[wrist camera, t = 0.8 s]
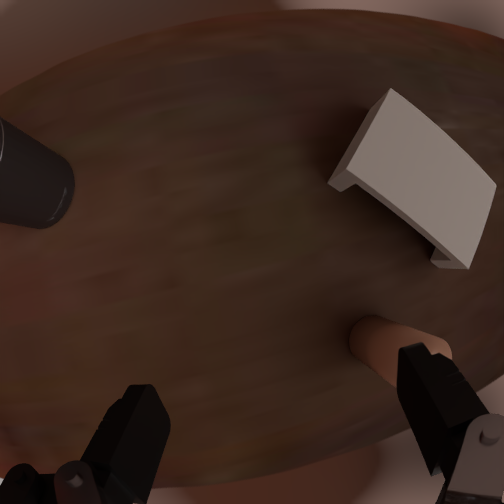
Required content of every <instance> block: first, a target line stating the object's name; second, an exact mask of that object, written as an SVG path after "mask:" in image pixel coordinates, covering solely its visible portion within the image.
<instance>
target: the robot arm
mask: <svg viewBox="0 0 504 504" xmlns="http://www.w3.org/2000/svg"><path fill="white" fill-rule="evenodd" d="M73 193H74V175H73V171H72V169H71V167H70V164H69V163H68V162H67V161H66V160H65V159H64V158H63V157H61V156H60V155H58V154H57V153H55V152H53V151H52V150H50V149H49V148H48V147H46V146H44V145H43V144H41V143H40V142H38V141H37V140H35V139H34V138H32V137H31V136H29V135H27V134H26V133H24V132H23V131H21V130H20V129H18V128H17V127H15V126H14V125H12V124H11V123H9V122H7V121H6V120H4V119H3V118H1V117H0V222H1V223H7V224H13V225H18V226H25V227H31V228H37V229H42V228H47V227H49V226H52V225H53V224H55V223H56V222H58V221H59V220H60V219H61V218H62V216H63V215H64V214H65V212H66V211H67V209H68V207H69V205H70V203H71V200H72V197H73ZM396 385H397V394H398V398H399V401H400V403H401V406H402V408H403V410H404V412H405V415H406V417H407V419H408V422H409V424H410V426H411V429H412V431H413V433H414V435H415V437H416V440H417V443H418V445H419V448H420V450H421V453H422V455H423V458H424V460H425V462H426V465H427V468H428V470H429V473H430V475H431V476H434V475H436V474H439V473H441V472H442V473H443V475H444V478H445V482H444V484H443V487H442V490H441V492H440V494H439V496H438V499H437V501H436V503H435V504H504V503H502V495H503V491H504V416H502V415H499V414H490V413H489V412H488V410H487V409H486V407H485V406H484V404H483V403H482V402H481V400H480V399H479V397H478V396H477V394H476V393H475V391H474V390H473V389H472V387H471V386H470V384H469V383H468V382H467V381H466V380H465V377H464V376H463V375H462V373H461V372H459V369H458V368H457V367H456V365H455V364H454V363H453V361H452V360H451V359H449V358H448V357H446V356H444V355H442V354H441V353H436V354H433V355H432V354H431V353H430V351H429V350H428V348H427V347H426V346H425V344H424V343H423V342H419V343H415V344H412V345H408V346H405V347H401V348H400V349H399V351H398V368H397V384H396ZM170 427H171V424H170V418H169V415H168V413H167V411H166V409H165V408H164V406H163V404H162V402H161V400H160V398H159V396H158V394H157V392H156V390H155V388H154V387H153V386H152V385H151V384H144V385H130V386H129V387H128V388H127V390H126V392H125V393H124V395H123V397H122V399H118V400H117V401H116V402H115V403H114V404H113V405H112V406H111V407H110V408H109V409H108V410H107V412H106V414H105V416H104V418H103V421H101V423H100V425H99V426H98V430H96V432H95V434H94V435H93V437H92V439H91V441H90V443H89V445H88V446H87V448H86V450H85V452H84V454H83V456H82V457H81V459H80V461H70V462H68V463H66V464H64V465H62V466H61V467H60V468H59V469H58V470H57V472H56V474H39V473H38V472H37V471H36V470H35V469H34V468H33V467H32V466H31V465H29V464H26V463H22V464H18V465H16V466H14V467H13V468H11V469H10V470H9V472H8V473H7V475H6V476H5V478H4V480H3V482H2V484H1V485H0V504H133V503H137V504H146V503H147V500H148V497H149V494H150V491H151V488H152V485H153V482H154V478H155V475H156V472H157V469H158V466H159V463H160V460H161V457H162V454H163V451H164V448H165V445H166V442H167V439H168V436H169V433H170Z"/></svg>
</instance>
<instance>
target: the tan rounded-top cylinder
mask: <svg viewBox="0 0 504 504" xmlns="http://www.w3.org/2000/svg"><path fill="white" fill-rule="evenodd" d="M419 342H423V343H424V344H425V346H426V347H427V348H428V350H429V351H430V353H431V354H432V355H433V354H436V353H441V354H442V355H444V356H446V357H448V358H449V359H451V360H452V353H451V349H450V347H449V345H448V343H447V342H446V341H445V340H443V339H441V338H438V337H436V336H433V335H430V334H427V333H424V332H422V331H419V330H416V329H413V328H411V327H408V326H405V325H402V324H400V323H397V322H394V321H391V320H389V319H386V318H383V317H381V316H377V315H369V316H366V317H364V318H362V319H361V320H359V321H358V322H357V323H356V324H355V326H354V327H353V329H352V331H351V333H350V336H349V347H350V350H351V353H352V354H353V355H354V356H355V357H356V358H357V359H358V360H360V361H361V362H362V363H364V364H365V365H366V366H368V367H369V368H370V369H372V370H373V371H374V372H376V373H377V374H378V375H380V376H381V377H382V378H384V379H385V380H386V381H388V382H389V383H390V384H392V385H393V386H394V387H396V388H397V385H396V384H397V368H398V351H399V349H400V348H401V347H405V346H408V345H412V344H415V343H419Z"/></svg>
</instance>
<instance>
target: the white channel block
mask: <svg viewBox="0 0 504 504" xmlns="http://www.w3.org/2000/svg"><path fill="white" fill-rule="evenodd" d="M355 183H356V184H357V185H359V186H360V187H361V188H363V189H364V190H365V191H367V192H368V193H369V194H371V195H372V196H373V197H375V198H376V199H377V200H379V201H380V202H381V203H383V204H384V205H385V206H387V207H388V208H389V209H390V210H392V211H393V212H394V213H396V214H397V215H398V216H399V217H401V218H402V219H403V220H404V221H406V222H407V223H408V224H409V225H411V226H412V227H413V228H414V229H415V230H417V231H418V232H419V233H420V234H421V235H423V236H424V237H425V238H426V239H427V240H429V241H430V242H431V243H432V244H433V245H434V246H436V248H435V250H434V252H433V254H432V256H431V259H430V261H431V262H432V263H433V264H434V265H436V266H437V267H438V268H454V269H469V267H470V264H471V262H472V259H473V257H474V254H475V251H476V249H477V246H478V243H479V241H480V238H481V235H482V232H483V229H484V226H485V223H486V220H487V217H488V214H489V210H490V207H491V204H492V200H493V197H494V193H495V190H496V186H497V185H496V184H495V183H494V182H493V181H492V180H491V178H490V177H489V176H488V175H487V174H486V173H485V172H484V171H483V170H482V169H481V168H480V166H479V165H478V164H477V163H476V162H475V161H474V160H473V159H472V158H471V157H470V156H469V155H468V154H467V153H466V152H465V151H464V150H463V149H462V148H461V147H460V146H459V145H458V144H457V143H456V142H455V141H453V140H452V139H451V138H450V137H449V136H448V135H447V134H446V133H445V132H444V131H443V130H442V129H440V128H439V127H438V126H437V125H436V124H435V123H434V122H433V121H431V120H430V119H429V118H428V117H427V116H426V115H424V114H423V113H422V112H421V111H420V110H418V109H417V108H416V107H415V106H413V105H412V104H411V103H410V102H408V101H407V100H406V99H405V98H403V97H402V96H401V95H399V94H398V93H397V92H395V91H394V90H393V89H391V88H390V89H389V90H388V91H387V92H386V93H385V94H384V95H383V96H382V97H381V98H380V100H379V101H378V102H377V103H376V104H375V105H374V106H373V107H372V108H371V109H370V110H369V112H368V114H367V115H366V117H365V119H364V121H363V122H362V124H361V126H360V128H359V129H358V131H357V133H356V135H355V136H354V138H353V140H352V141H351V143H350V145H349V147H348V148H347V150H346V152H345V154H344V155H343V157H342V159H341V160H340V162H339V164H338V166H337V167H336V169H335V171H334V172H333V174H332V176H331V177H330V179H329V181H328V184H329V185H331V186H332V187H333V188H335V189H336V190H338V191H339V192H342V191H343V190H345V189H347V188H348V187H350V186H352V185H354V184H355Z"/></svg>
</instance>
